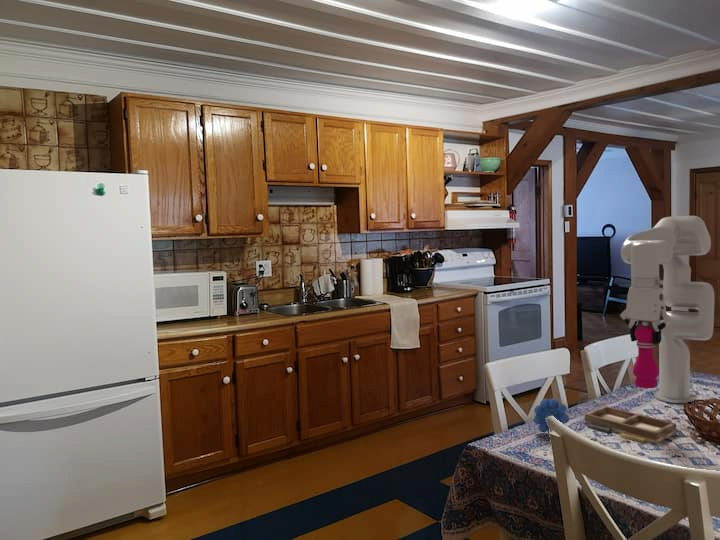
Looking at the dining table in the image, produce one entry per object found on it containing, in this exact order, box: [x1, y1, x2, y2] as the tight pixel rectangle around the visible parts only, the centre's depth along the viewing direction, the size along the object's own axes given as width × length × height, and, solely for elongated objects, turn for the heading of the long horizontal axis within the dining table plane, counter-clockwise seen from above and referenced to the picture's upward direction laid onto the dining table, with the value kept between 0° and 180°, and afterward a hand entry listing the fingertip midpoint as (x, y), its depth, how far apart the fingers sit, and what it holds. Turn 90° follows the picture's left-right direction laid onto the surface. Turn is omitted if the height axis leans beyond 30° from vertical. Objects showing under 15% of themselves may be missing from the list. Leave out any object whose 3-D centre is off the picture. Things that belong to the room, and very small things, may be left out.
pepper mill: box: [632, 321, 659, 389], centre depth 172 cm, size 7×7×20 cm
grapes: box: [533, 397, 570, 434], centre depth 176 cm, size 12×7×12 cm, turn 43°
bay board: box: [584, 405, 677, 444], centre depth 178 cm, size 14×23×3 cm, turn 36°
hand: (645, 341), depth 172 cm, fingers closed on pepper mill, 6 cm apart
